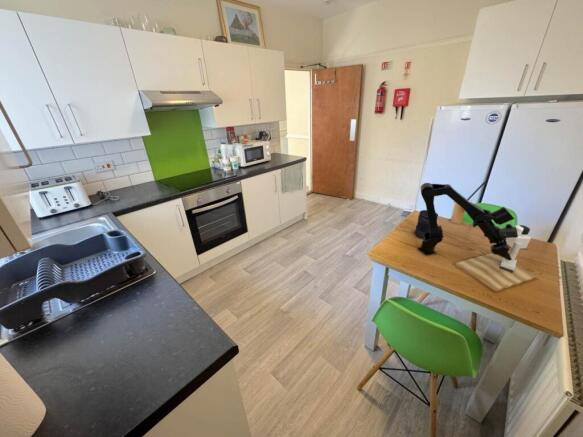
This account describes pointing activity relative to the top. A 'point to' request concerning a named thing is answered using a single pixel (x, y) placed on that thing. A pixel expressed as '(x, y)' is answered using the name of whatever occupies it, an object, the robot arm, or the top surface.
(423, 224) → the storage jar
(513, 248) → the dish brush
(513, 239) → the medicine bottle
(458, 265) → the chopping board
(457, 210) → the utensil holder
